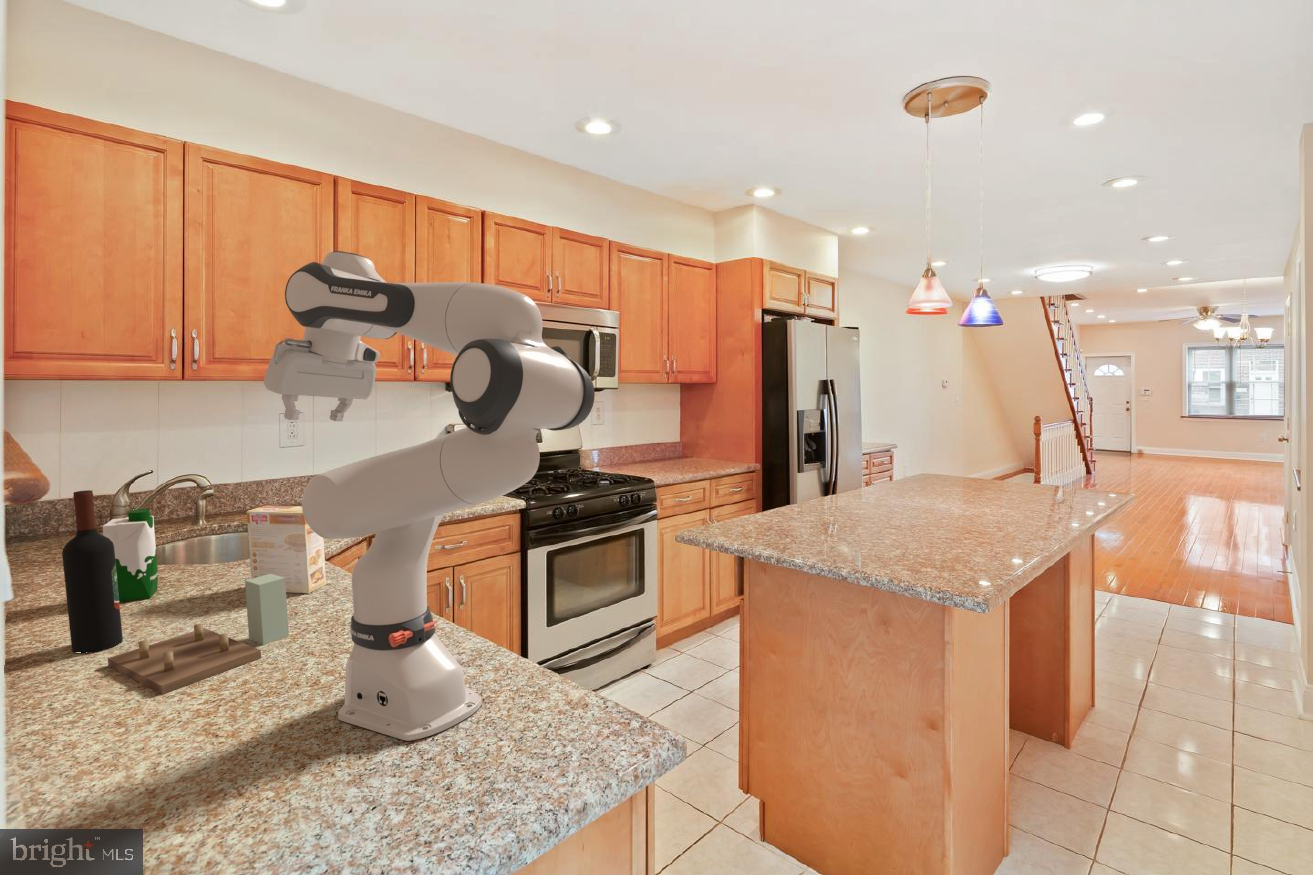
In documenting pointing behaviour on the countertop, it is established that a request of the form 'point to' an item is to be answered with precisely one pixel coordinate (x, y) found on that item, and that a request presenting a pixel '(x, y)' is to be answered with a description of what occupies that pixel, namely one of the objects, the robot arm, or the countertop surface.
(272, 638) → the block
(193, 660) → the nest board
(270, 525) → the coffeecake box
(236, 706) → the countertop surface
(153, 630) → the countertop surface
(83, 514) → the wine bottle
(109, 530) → the milk carton
